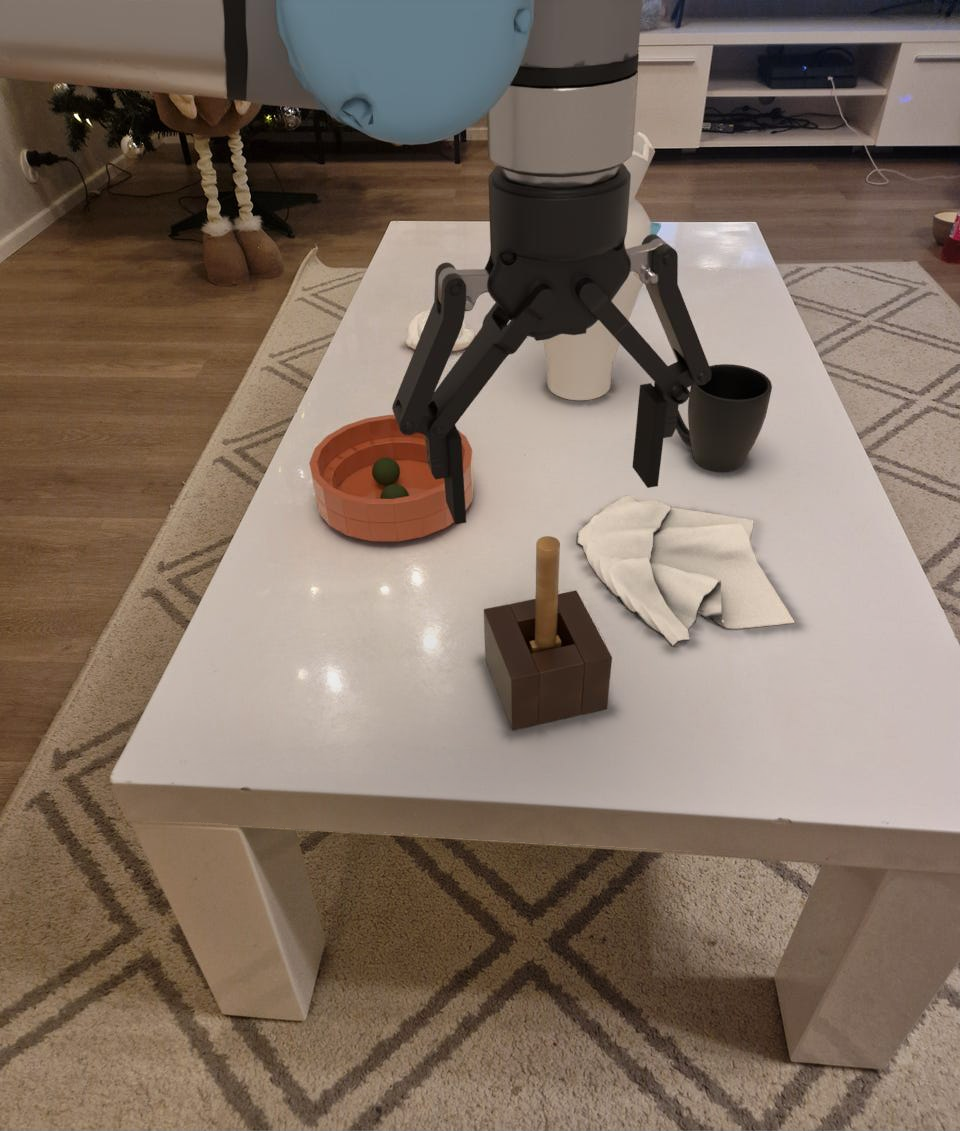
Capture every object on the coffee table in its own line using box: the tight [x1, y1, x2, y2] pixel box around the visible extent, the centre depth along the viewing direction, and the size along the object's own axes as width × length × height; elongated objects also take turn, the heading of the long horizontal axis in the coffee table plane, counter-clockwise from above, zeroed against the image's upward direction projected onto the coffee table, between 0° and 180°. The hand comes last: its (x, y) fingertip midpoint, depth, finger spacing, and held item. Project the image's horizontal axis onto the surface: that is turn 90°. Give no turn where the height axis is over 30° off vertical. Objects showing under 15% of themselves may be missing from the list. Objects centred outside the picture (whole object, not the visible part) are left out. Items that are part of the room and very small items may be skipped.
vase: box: [541, 131, 656, 401], centre depth 100 cm, size 15×15×29 cm
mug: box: [675, 363, 773, 473], centre depth 94 cm, size 8×12×10 cm
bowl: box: [308, 414, 475, 542], centre depth 90 cm, size 17×17×6 cm
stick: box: [530, 535, 561, 654], centre depth 66 cm, size 2×2×15 cm
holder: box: [483, 589, 613, 732], centre depth 69 cm, size 8×8×6 cm
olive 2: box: [380, 484, 409, 499], centre depth 88 cm, size 3×3×3 cm
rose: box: [405, 309, 476, 352], centre depth 119 cm, size 10×4×10 cm
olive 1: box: [372, 457, 400, 486], centre depth 92 cm, size 3×3×3 cm
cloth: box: [575, 495, 795, 646], centre depth 81 cm, size 20×22×2 cm
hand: (552, 494), depth 59 cm, fingers open, 13 cm apart
